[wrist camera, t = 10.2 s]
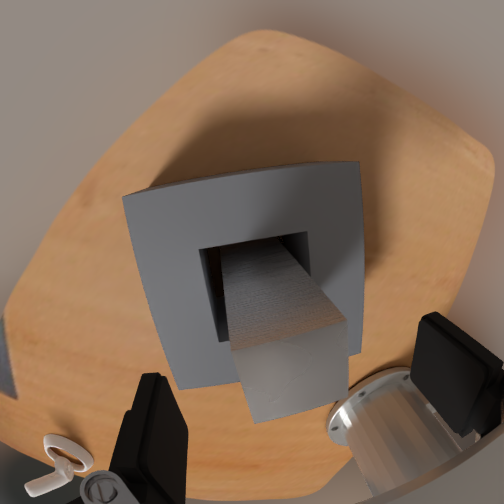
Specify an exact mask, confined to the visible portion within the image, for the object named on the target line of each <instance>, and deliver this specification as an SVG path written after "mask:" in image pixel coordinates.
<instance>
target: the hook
mask: <svg viewBox="0 0 504 504" xmlns="http://www.w3.org/2000/svg"><path fill="white" fill-rule="evenodd" d="M50 447H56V448H59V449H62V450H64V451H67V452H68V453H70V454H72V455H74V456H75V457H76V458H78V459H79V460H80V461H81V462H82V463H83V464H84V465H78V464H74V463H72V462H70V461H69V460H68V459H66V458H65V457H61V456H58V455H57V454H56V453H55V452H54V451H52V450H51V448H50ZM44 448H45V451H46V453H47V455H48V456H49V457H50V458H51V459H52V460H53V461H55V469H56V470H55V472H53V473H51V474H48V475H45V476H43V477H40V478H38V479H35V480H33V481H30V482H28V483H26V484H25V488H26V490H27V492H28V494H29V495H30V496H31V497H36V496H39V495H41V494H44V493H46V492H49V491H51V490H53V489H56V488H58V487H60V486H62V485H64V484H66V483H67V482H69V481H71V480H72V479H73V476H74V471H76V472H85V471H87V470H88V469H89V468H90V467H91V466H92V465H93V464H94V460H93V458H92V456H91V455H90V454H89V453H88V452H87V451H86V450H85V449H84V448H83V447H81V446H80V445H78V444H77V443H75V442H73V441H71V440H69V439H67V438H65V437H62V436H59V435H55V434H47V435H45V436H44Z"/></svg>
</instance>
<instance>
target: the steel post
mask: <svg viewBox="0 0 504 504" xmlns="http://www.w3.org/2000/svg"><path fill="white" fill-rule="evenodd" d="M220 255H221V266H222V276H223V285H224V295H225V304H226V313H227V322H228V331H229V339H230V348H231V353H232V356H233V359H234V363H235V366H236V369H237V372H238V375H239V378H240V382H241V385H242V388H243V391H244V394H245V397H246V400H247V403H248V406H249V409H250V412H251V415H252V418H253V421H254V424H256V423H261V422H265V421H270V420H274V419H278V418H282V417H286V416H290V415H293V414H297V413H300V412H304V411H307V410H311V409H314V408H317V407H320V406H324V405H327V404H330V403H333V402H336V401H339V400H342V399H344V398H347V397H348V379H349V370H348V326H347V319H346V318H345V317H344V315H343V314H342V313H341V312H340V311H339V310H338V308H337V307H336V306H335V305H334V304H333V302H332V301H331V300H330V299H329V298H328V297H327V295H326V294H325V293H324V292H323V291H322V290H321V288H320V287H319V286H318V285H317V284H316V283H315V281H314V280H313V279H312V278H311V277H310V276H309V274H308V273H307V272H306V271H305V270H304V269H303V267H302V266H301V265H300V264H299V263H298V262H297V261H296V259H295V258H294V257H293V256H292V255H291V254H290V253H289V251H288V250H287V249H286V248H285V247H284V246H283V245H282V243H281V242H280V241H279V240H278V239H277V238H276V237H275V236H274V237H268V238H262V239H256V240H250V241H244V242H238V243H232V244H227V245H221V246H220Z"/></svg>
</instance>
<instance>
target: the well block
mask: <svg viewBox="0 0 504 504" xmlns="http://www.w3.org/2000/svg"><path fill="white" fill-rule="evenodd" d="M122 200H123V205H124V210H125V215H126V219H127V224H128V229H129V233H130V237H131V242H132V246H133V250H134V254H135V258H136V262H137V266H138V269H139V273H140V277H141V280H142V284H143V287H144V291H145V294H146V298H147V301H148V304H149V308H150V311H151V314H152V317H153V320H154V323H155V326H156V329H157V332H158V335H159V338H160V341H161V344H162V347H163V350H164V352H165V355H166V358H167V361H168V363H169V366H170V369H171V371H172V374H173V376H174V379H175V382H176V384H177V387H178V389H179V390H184V389H193V388H201V387H208V386H216V385H222V384H229V383H235V382H240V378H239V375H238V372H237V369H236V366H235V363H234V359H233V356H232V353H231V348H230V339H229V331H228V322H227V313H226V304H225V296H221V297H216V293H215V288H214V283H213V278H212V273H211V268H210V263H209V258H208V253H207V248H209V247H215V246H221V245H227V244H232V243H238V242H244V241H250V240H256V239H262V238H268V237H274V236H280V235H284V244H285V248H286V249H287V250H288V251H289V253H290V254H291V255H292V256H293V257H294V258H295V259H296V261H297V262H298V263H299V264H300V265H301V266H302V267H303V269H304V270H305V271H306V272H307V273H308V274H309V276H310V277H311V278H312V279H313V280H314V281H315V283H316V284H317V285H318V286H319V287H320V288H321V290H322V291H323V292H324V293H325V294H326V295H327V297H328V298H329V299H330V300H331V301H332V302H333V304H334V305H335V306H336V307H337V308H338V310H339V311H340V312H341V313H342V314H343V315H344V317H345V318H346V319H347V326H348V357H349V356H352V355H355V354H359V353H361V345H362V331H363V312H364V222H363V203H362V188H361V176H360V165H359V162H355V161H326V162H310V163H300V164H290V165H282V166H273V167H265V168H258V169H251V170H244V171H237V172H230V173H224V174H218V175H212V176H206V177H200V178H195V179H189V180H184V181H178V182H173V183H168V184H163V185H159V186H154V187H149V188H146V189H143V190H140V191H137V192H134V193H131V194H129V195H126V196H123V197H122Z"/></svg>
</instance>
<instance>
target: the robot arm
mask: <svg viewBox="0 0 504 504" xmlns="http://www.w3.org/2000/svg"><path fill="white" fill-rule="evenodd" d="M502 366H503V361H502V360H500V359H499V358H498V357H497V356H495V355H494V354H493V353H491V352H490V351H489V350H487V349H486V348H485V347H484V346H482V345H481V344H480V343H479V342H477V341H476V340H474V339H473V338H472V337H470V336H469V335H468V334H467V333H465V332H464V331H462V330H461V329H460V328H459V327H457V326H456V325H455V324H453V323H452V322H451V321H449V320H448V319H446V318H445V317H444V316H442V315H441V314H440V313H438V312H432V313H429V314H426V315H424V316H423V317H422V318H421V321H420V322H419V325H418V331H417V338H416V344H415V350H414V355H413V361H412V366H411V368H408V367H395V368H390V369H386V370H384V371H381V372H378V373H376V374H374V375H372V376H370V377H368V378H366V379H365V380H363V381H362V382H360V383H358V384H357V385H356V386H354V387H353V388H352V389H350V390H349V391H348V397H347V398H344V399H342V400H339V401H338V402H337V403H336V405H335V406H334V407H333V409H332V410H331V412H330V413H329V416H328V418H327V422H326V430H327V433H328V435H329V437H330V439H331V440H332V441H333V442H334V443H336V444H338V445H343V446H349V448H350V450H351V452H352V454H353V456H354V458H355V460H356V462H357V464H358V466H359V468H360V470H361V472H362V474H363V477H364V479H365V481H366V483H367V485H368V487H369V489H370V491H371V493H372V495H373V497H372V498H370V499H367V500H364V501H362V502H359V503H356V504H504V370H503V369H502ZM434 412H438V413H439V414H440V415H441V417H442V418H443V419H444V421H445V422H446V423H447V424H448V425H449V427H450V428H451V429H452V430H453V431H454V432H455V433H459V435H460V436H461V437H462V438H463V437H464V436H466V435H467V434H469V433H471V432H472V430H473V429H475V430H476V442H475V443H474V444H473V445H472V446H470V447H469V448H467V449H466V450H464V451H462V450H461V449H460V448H459V446H458V445H457V443H456V442H455V441H454V440H453V438H452V437H451V436H450V434H449V433H448V432H447V431H446V429H445V428H444V427H443V426H442V424H441V423H440V422H439V421H438V419H437V418H436V417H435V416H434V414H433V413H434ZM187 450H188V428H187V425H186V423H185V420H184V418H183V416H182V414H181V411H180V409H179V407H178V404H177V402H176V400H175V397H174V395H173V393H172V390H171V388H170V385H169V383H168V380H167V378H166V377H165V376H161V374H160V373H158V372H157V373H144V374H142V376H141V379H140V382H139V385H138V389H137V392H136V395H135V398H134V402H133V405H132V408H131V410H128V411H126V413H125V415H124V418H123V421H122V424H121V428H120V431H119V435H118V438H117V441H116V445H115V448H114V452H113V456H112V459H111V463H110V467H109V470H108V471H106V470H101V471H95V472H92V473H91V474H89V475H88V476H86V477H85V478H84V480H83V481H82V483H81V486H80V494H81V496H80V497H78V498H76V499H75V500H73V501H71V502H69V503H67V504H185V495H186V469H187Z"/></svg>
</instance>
